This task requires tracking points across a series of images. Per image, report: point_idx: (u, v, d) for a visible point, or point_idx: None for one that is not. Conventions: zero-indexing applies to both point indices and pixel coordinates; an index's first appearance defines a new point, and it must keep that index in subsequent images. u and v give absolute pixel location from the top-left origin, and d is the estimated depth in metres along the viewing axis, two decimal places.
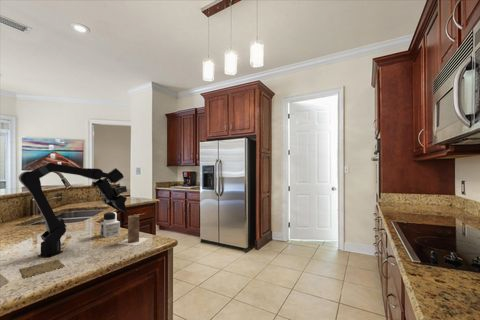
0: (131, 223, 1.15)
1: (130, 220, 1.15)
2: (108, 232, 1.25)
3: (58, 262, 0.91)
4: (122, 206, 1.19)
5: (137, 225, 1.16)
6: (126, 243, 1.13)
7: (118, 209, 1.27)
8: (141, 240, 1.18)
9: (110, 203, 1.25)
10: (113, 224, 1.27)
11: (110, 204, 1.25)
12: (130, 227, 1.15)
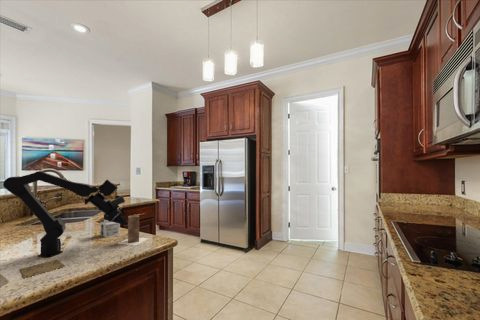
0: (131, 223, 1.15)
1: (130, 220, 1.15)
2: (108, 232, 1.25)
3: (58, 262, 0.91)
4: (119, 219, 1.09)
5: (137, 225, 1.16)
6: (126, 243, 1.13)
7: (125, 220, 1.20)
8: (141, 240, 1.18)
9: None
10: (113, 224, 1.27)
11: None
12: (130, 227, 1.15)
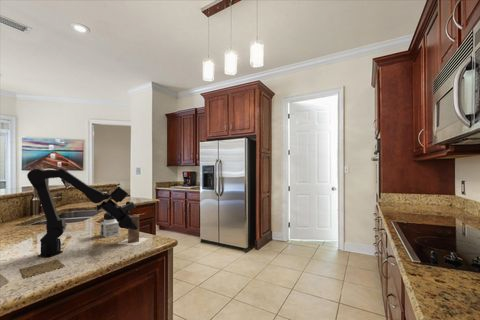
0: None
1: None
2: (108, 232, 1.25)
3: (58, 262, 0.91)
4: (130, 224, 1.13)
5: (137, 225, 1.16)
6: (126, 243, 1.13)
7: None
8: (141, 240, 1.18)
9: None
10: (113, 224, 1.27)
11: None
12: None
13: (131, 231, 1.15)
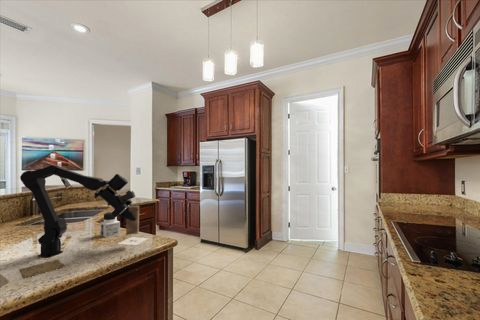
0: None
1: None
2: (108, 232, 1.25)
3: (58, 262, 0.91)
4: (127, 215, 1.06)
5: (135, 216, 1.09)
6: (126, 243, 1.13)
7: None
8: (141, 240, 1.18)
9: None
10: (113, 224, 1.27)
11: None
12: None
13: (129, 222, 1.08)
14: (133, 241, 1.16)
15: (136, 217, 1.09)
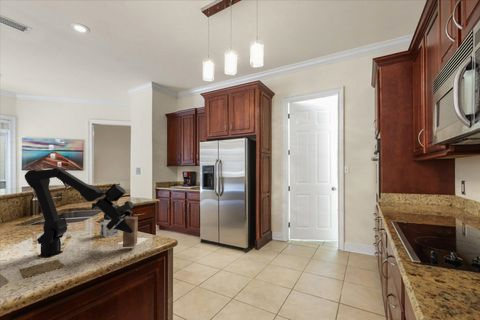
0: None
1: None
2: (108, 232, 1.25)
3: (58, 262, 0.91)
4: (123, 227, 1.02)
5: (132, 228, 1.04)
6: None
7: None
8: (141, 240, 1.18)
9: None
10: None
11: None
12: None
13: (126, 234, 1.04)
14: None
15: (133, 229, 1.04)
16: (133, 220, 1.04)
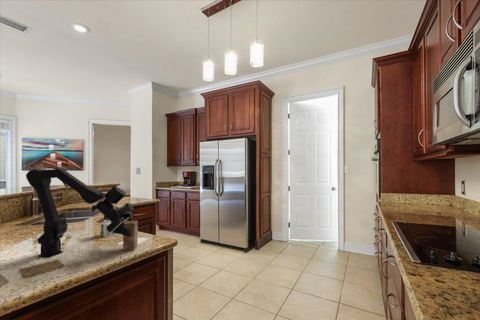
0: None
1: (125, 226, 1.04)
2: (108, 232, 1.25)
3: (58, 262, 0.91)
4: (122, 230, 1.00)
5: (132, 233, 1.04)
6: None
7: None
8: (141, 240, 1.18)
9: None
10: None
11: None
12: None
13: (126, 239, 1.03)
14: None
15: (133, 234, 1.04)
16: (133, 225, 1.04)
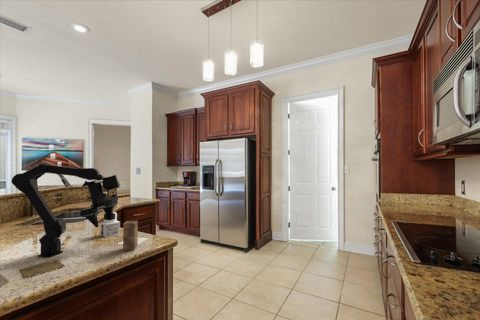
0: (126, 230, 1.04)
1: (125, 226, 1.04)
2: (108, 232, 1.25)
3: (58, 262, 0.91)
4: (92, 219, 1.03)
5: (132, 233, 1.04)
6: None
7: (109, 219, 1.14)
8: (141, 240, 1.18)
9: (105, 209, 1.14)
10: (113, 224, 1.27)
11: (105, 210, 1.14)
12: (125, 234, 1.03)
13: (126, 239, 1.03)
14: None
15: (133, 234, 1.04)
16: (133, 225, 1.04)
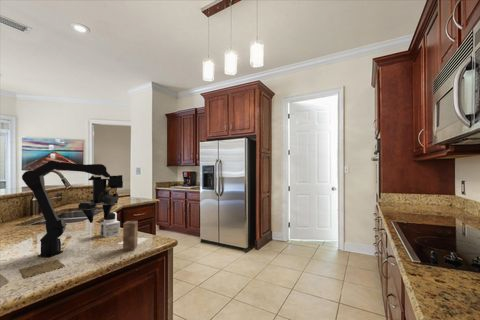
0: (126, 230, 1.04)
1: (125, 226, 1.04)
2: (108, 232, 1.25)
3: (58, 262, 0.91)
4: (89, 214, 1.05)
5: (132, 233, 1.04)
6: None
7: (105, 217, 1.14)
8: (141, 240, 1.18)
9: (104, 206, 1.15)
10: (113, 224, 1.27)
11: (104, 207, 1.15)
12: (125, 234, 1.03)
13: (126, 239, 1.03)
14: None
15: (133, 234, 1.04)
16: (133, 225, 1.04)
